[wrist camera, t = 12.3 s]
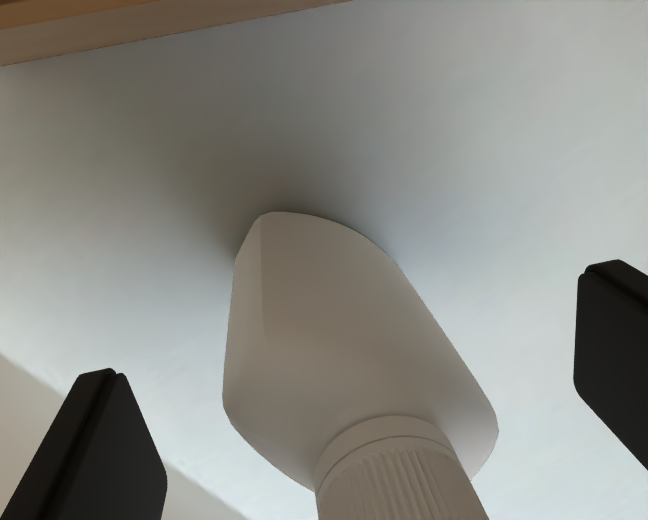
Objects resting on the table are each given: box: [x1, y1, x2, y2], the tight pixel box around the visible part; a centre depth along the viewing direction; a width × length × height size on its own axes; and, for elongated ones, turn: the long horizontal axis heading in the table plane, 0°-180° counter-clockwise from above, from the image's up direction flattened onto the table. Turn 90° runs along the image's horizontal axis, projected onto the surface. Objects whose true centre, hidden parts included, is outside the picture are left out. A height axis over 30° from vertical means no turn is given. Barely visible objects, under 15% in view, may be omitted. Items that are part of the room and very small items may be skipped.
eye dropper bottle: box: [222, 212, 499, 520], centre depth 11 cm, size 4×6×12 cm
